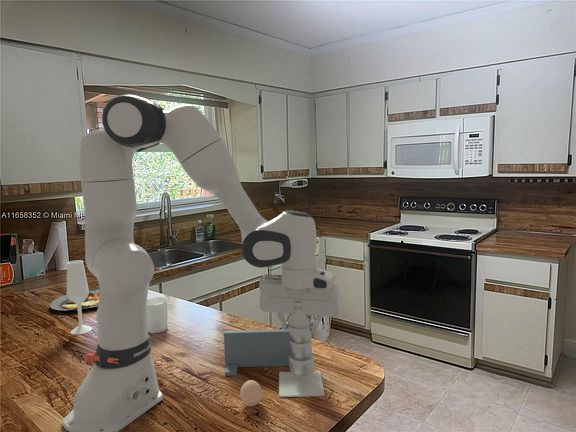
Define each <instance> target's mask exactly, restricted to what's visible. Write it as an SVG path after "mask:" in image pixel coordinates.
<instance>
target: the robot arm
mask: <svg viewBox="0 0 576 432" xmlns="http://www.w3.org/2000/svg"><path fill="white" fill-rule="evenodd" d="M101 119H102V121H101V122H102V126H103V129H97V130H92V131H91V132H88V133H86V134H85V135H84V136H83V137H82V139H81V141H80V148H79V175H80V185H81V193H82V199H83V200H82V202H83V208H84V217H85V221H84V222H85V226H84V247H85V249H84V250H85V254H84V255H85V257H84V260H85V264H86V266H87V270H88V271H89V272H90V273H91V275H93V276H94V277H95V278H96V279H97V281H98V285H99V288H98V289H100V293H99V305H98V306H97V310H96V313H95V315H96V327H97V329H96V330H97V335H98V336H97V337H98V343H97V345H96V351H95V353H91V352H88V353H86V355H85V357H84V360H85V362H86V363H93V366H92V367H91V369H90V370H89V371H88V374H87V375H86V377H85V378H84V380H83V381H82V383H81V385H80V386H79V388H78V389H77V390H76V392H75V394H74V397H73V408H72V410H71V411H69V413H68V414H67V415H66V416H65V417H64V418H63V419H62V421H61V422H62V423H61V425H62V427H63V429H64V430H65V431H68V432H121V430H123V429H124V428H125V427H127V426H129V425H130V423H132V422H134V421H135V420H136V419H138V418H139V417H140V416H142V415H143V414H144V413H146V412H148V411H149V410H150V409H151V408H153V407H154V406H156V405H157V404H159V402H161V401H162V400H163V399H164V397H163V396H164V395H163V392H162V391H161V390H160V386H159V383H158V377H157V370H156V367H155V364H154V361H153V359H152V356H151V351H152V342H151V336H150V333H149V332H148V328H147V313H146V303H147V299H148V293H149V289H150V283H151V281H152V279H153V277H154V274H155V264H154V262H153V259H152V258H151V255H149V253H148V252H147V250H145V249H144V248H143V247H142V246H140V245H138V244H136V243H135V241H134V231H135V230H134V228H135V227H134V226H135V220H136V216H137V214H138V206H137V205H138V204H137V195H136V186H135V179H134V170H133V169H134V168H133V157H134V155H135V154H136V153H139V152H142V151H145V150H147V149H149V148H150V149H151V148H153V147H156V146H158V145H160V144H162V145H165V146H166V147H167V149H169V150H170V151H171V152H172V154H173V155H174V156H175V158H176V159H177V161H178V162H179V164H180V166H181V167H182V169H183V170H184V172H185V173H186V174H187V176H188V177H189V178H190V179H191V180H192V181H193V182H194V183H195V184H196V185H197V186H198V187H199V189H202V190H204V191H206V192H208V193H210V194H212V195H214V196H215V197H216V198H217V199H219V200H220V202H221V203H222V204H223V205H224V206H225V208H226V209H227V211H228V213H229V214H230V216H231V218H233V220H234V221H235V223H236V224H237V226H238V228H239V230H240V235H241V253H242V257H243V258H244V259H245V261H246V262H247V263H248V264H249V265H251V266H253V267H256V268H259V269H260V268H268V267H273V266H274V267H275V266H278V265H280V274H269V273H268V274H267V273H266V274H264V275H262V276H261V277H260V278H259V282H258V284H259V285H258V286H259V289H260V292H259V293H260V294H259V305H258V306H259V309H260V310H261V311H262V312H268V313H269V312H270V313H276V317H277V318H278V320H279V322H280V323H281V329H287V330H288V324H287V318H286V317H285V314H287V315H288V314H292V313H293V312H295V311H296V309H294V308H293V307H294V306H293V301H294V302H302V303H303V305H302V307H303V309H300V311H301V312H302V313H304V314H305V315H311V316H312V317H314V318H315V320H316V322H313V324H312V326H311V332H312V333H318V331H319V325H320V323H321V321H322V320H323V317H324V318H325V317H326V318H337V317H339V315H340V314H341V311H342V301H341V295H340V294H341V293H340V289H339V287H338V285H337V284H336V280H337V278H336V277H337V276H336V274H335V273H334V272H331V271H329V270H325V269H322V268H320V267H318V262H317V259H316V251H317V247H318V246H317V243H318V242H317V228H316V223H315V220H314V218H313V216H311V215H310V214H309V213H307V212H304V211H301V210H296V209H295V210H292V209H291V210H290V209H287V210H283V211H282V212H281V213H280V214H279V215H277V216H276V217H274V218H272V219H271V220H269V219H267V217H264V216H263V215H262V214H261V213H260V211H258V209H257V208H256V206H255V205H254V203H253V202H252V200H251V199H250V197H249V195H248V194H247V192H246V190H245V189H244V188H243V186H242V184H241V181H240V178H239V175H238V171H237V168H236V165H235V162H234V160H233V157H232V155H231V153H230V151H229V149H228V147H227V145H226V143H225V142H224V140H223V138H222V137H221V135H220V134H219V133H218V131H217V130H216V128H215V127H214V125H213V124H212V123H211V122H210V120H209V119H208V118H207V117H206V116H205V114H203V112H202V111H201V110H200V109H199V108H198V107H196V106H194V105H191V104H181V105H178V106H175V107H173V108H172V109H169V110H165V109H164V108H163V107H162V106H161V105H159V104H157V103H155V102H154V101H152V100H150V99H148V98H146V97H142V96H138V95H135V94H122V95H118V96H116V97H113V98H112V99H111V100H109V102H107V104H106V105H105V107H104V109H103V111H102V117H101Z"/></svg>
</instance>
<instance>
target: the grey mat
mask: <svg viewBox="0 0 576 432" xmlns="http://www.w3.org/2000/svg"><path fill="white" fill-rule="evenodd" d="M278 373H279V375H278V398H294V397H295V398H300V397H301V398H302V397H305V398H306V397H325V396H326V395H325V389H324V385H323V378H322V373H321V370H313V371H312V372H311V374H309V375H307V376H297V375H294V374H293V373H292V372H291V371H279V372H278Z"/></svg>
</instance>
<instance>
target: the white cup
mask: <svg viewBox="0 0 576 432" xmlns="http://www.w3.org/2000/svg"><path fill="white" fill-rule="evenodd" d="M146 313H147V328H148V334H150V333H151V334H157V333H162V332H165V331H166V330H168V313H169V311H168V299H167V298H166V297H163V296H161V297H160V296H158V297H150V298H147V303H146Z"/></svg>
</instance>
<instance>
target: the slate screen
mask: <svg viewBox="0 0 576 432" xmlns="http://www.w3.org/2000/svg"><path fill="white" fill-rule="evenodd" d="M223 344H224V365H225V367H224V368H225V370H224V376H225V377H227V376H228V377H229V376H231V377H232V376H237V375H238V374H237V373H238V369H239V368H248V367H249V368H251V367H253V368H254V367H285V366H286V367H287V366H288V367H289V364H288V363H289V356H290V335H289V329H288V330H287V329H282V328H277V329H275V328H274V329H239V330H236V329H235V330H224V331H223Z"/></svg>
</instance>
